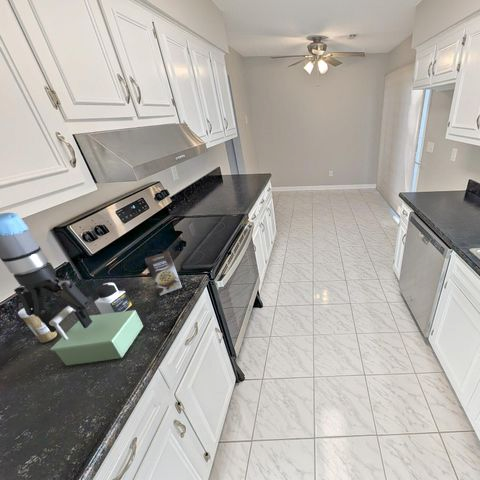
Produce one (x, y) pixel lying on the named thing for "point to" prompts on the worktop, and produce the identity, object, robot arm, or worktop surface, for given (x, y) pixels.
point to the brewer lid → (90, 329)
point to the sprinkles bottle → (37, 326)
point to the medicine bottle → (111, 299)
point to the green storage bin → (103, 346)
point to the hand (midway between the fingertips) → (72, 326)
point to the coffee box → (163, 273)
